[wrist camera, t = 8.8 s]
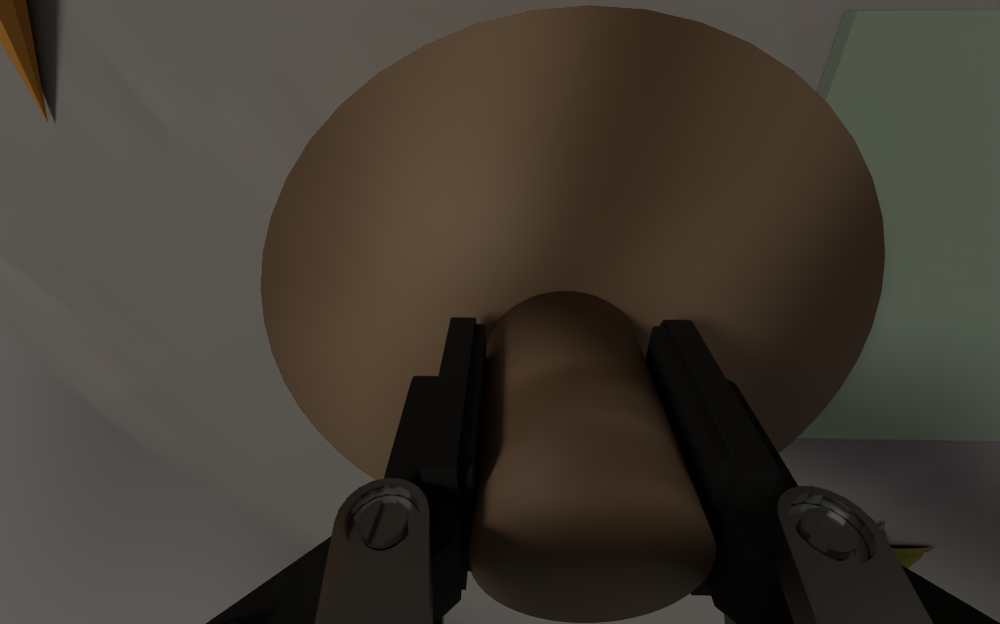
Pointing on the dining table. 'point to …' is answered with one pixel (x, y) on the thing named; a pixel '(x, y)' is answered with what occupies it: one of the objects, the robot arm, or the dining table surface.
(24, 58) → the carrot
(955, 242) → the mat
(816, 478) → the dining table surface
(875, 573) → the robot arm
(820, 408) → the lid
